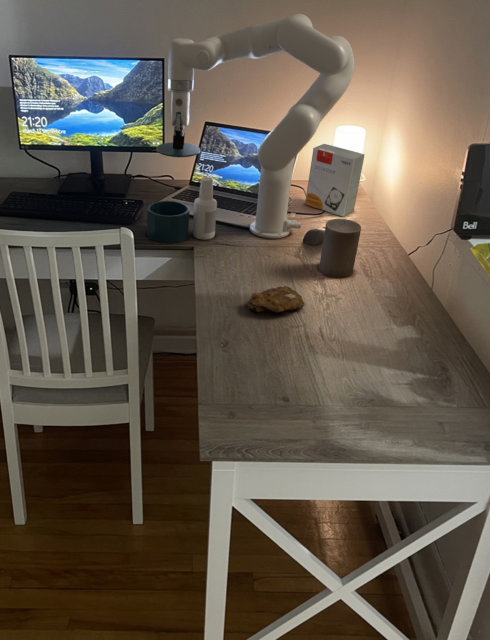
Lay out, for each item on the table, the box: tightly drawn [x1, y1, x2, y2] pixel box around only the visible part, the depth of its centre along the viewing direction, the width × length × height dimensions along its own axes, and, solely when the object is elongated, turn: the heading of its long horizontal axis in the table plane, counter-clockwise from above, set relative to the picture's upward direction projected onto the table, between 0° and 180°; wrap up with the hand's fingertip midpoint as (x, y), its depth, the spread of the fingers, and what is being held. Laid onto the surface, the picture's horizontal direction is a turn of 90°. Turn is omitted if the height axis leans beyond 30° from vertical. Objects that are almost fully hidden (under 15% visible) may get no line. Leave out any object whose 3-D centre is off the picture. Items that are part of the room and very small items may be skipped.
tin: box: [146, 200, 191, 244], centre depth 207 cm, size 13×13×8 cm
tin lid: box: [155, 131, 201, 158], centre depth 208 cm, size 14×14×6 cm
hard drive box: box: [304, 143, 366, 218], centre depth 227 cm, size 16×8×20 cm, turn 49°
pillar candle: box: [318, 218, 362, 278], centre depth 189 cm, size 10×10×15 cm
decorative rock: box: [246, 285, 305, 314], centre depth 172 cm, size 11×4×15 cm
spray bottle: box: [192, 176, 218, 240], centre depth 205 cm, size 7×7×18 cm
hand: (178, 146), depth 209 cm, fingers closed on tin lid, 3 cm apart
